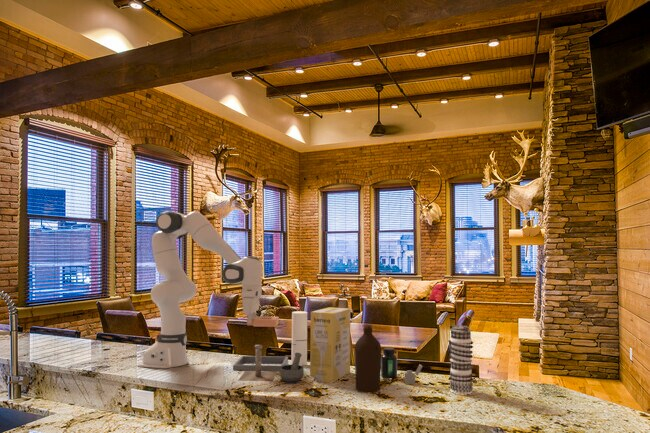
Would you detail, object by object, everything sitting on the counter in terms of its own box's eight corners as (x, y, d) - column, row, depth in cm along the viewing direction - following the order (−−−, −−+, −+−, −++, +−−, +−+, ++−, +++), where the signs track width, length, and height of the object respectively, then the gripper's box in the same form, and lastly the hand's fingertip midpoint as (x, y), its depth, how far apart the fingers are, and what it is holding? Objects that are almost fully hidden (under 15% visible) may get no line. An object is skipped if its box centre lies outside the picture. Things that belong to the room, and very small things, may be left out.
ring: (245, 326, 211) (245, 319, 211) (249, 322, 221) (250, 316, 221) (275, 326, 211) (275, 319, 211) (278, 323, 221) (278, 316, 221)
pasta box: (328, 369, 214) (329, 307, 216) (350, 372, 209) (350, 308, 211) (310, 379, 198) (310, 311, 199) (332, 382, 193) (333, 313, 195)
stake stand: (237, 384, 190) (238, 348, 191) (244, 374, 204) (245, 341, 205) (272, 384, 189) (272, 349, 190) (277, 375, 203) (277, 342, 204)
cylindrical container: (304, 369, 214) (305, 313, 215) (289, 368, 215) (290, 313, 217) (308, 365, 221) (308, 311, 222) (293, 364, 222) (294, 311, 224)
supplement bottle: (393, 380, 198) (393, 350, 199) (378, 377, 201) (378, 349, 202) (399, 376, 204) (399, 348, 204) (384, 374, 207) (384, 346, 208)
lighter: (404, 384, 192) (404, 364, 193) (404, 382, 194) (404, 363, 194) (422, 385, 190) (422, 365, 191) (422, 384, 192) (422, 364, 193)
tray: (232, 373, 206) (233, 365, 206) (241, 363, 224) (241, 355, 224) (283, 374, 205) (283, 366, 206) (287, 364, 223) (288, 356, 223)
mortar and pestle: (295, 390, 183) (295, 358, 184) (274, 386, 187) (275, 355, 188) (309, 382, 193) (309, 352, 194) (290, 379, 197) (290, 350, 198)
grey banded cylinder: (471, 396, 176) (470, 328, 178) (446, 392, 181) (445, 326, 182) (476, 390, 184) (475, 325, 186) (452, 386, 189) (451, 323, 190)
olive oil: (384, 387, 188) (384, 323, 189) (376, 394, 178) (376, 327, 179) (359, 383, 192) (359, 321, 193) (350, 391, 182) (350, 325, 184)
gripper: (249, 289, 228) (249, 318, 227) (240, 293, 207) (239, 325, 206) (262, 289, 227) (262, 318, 227) (254, 293, 207) (254, 325, 206)
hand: (251, 322), depth 216 cm, fingers closed on ring, 4 cm apart
